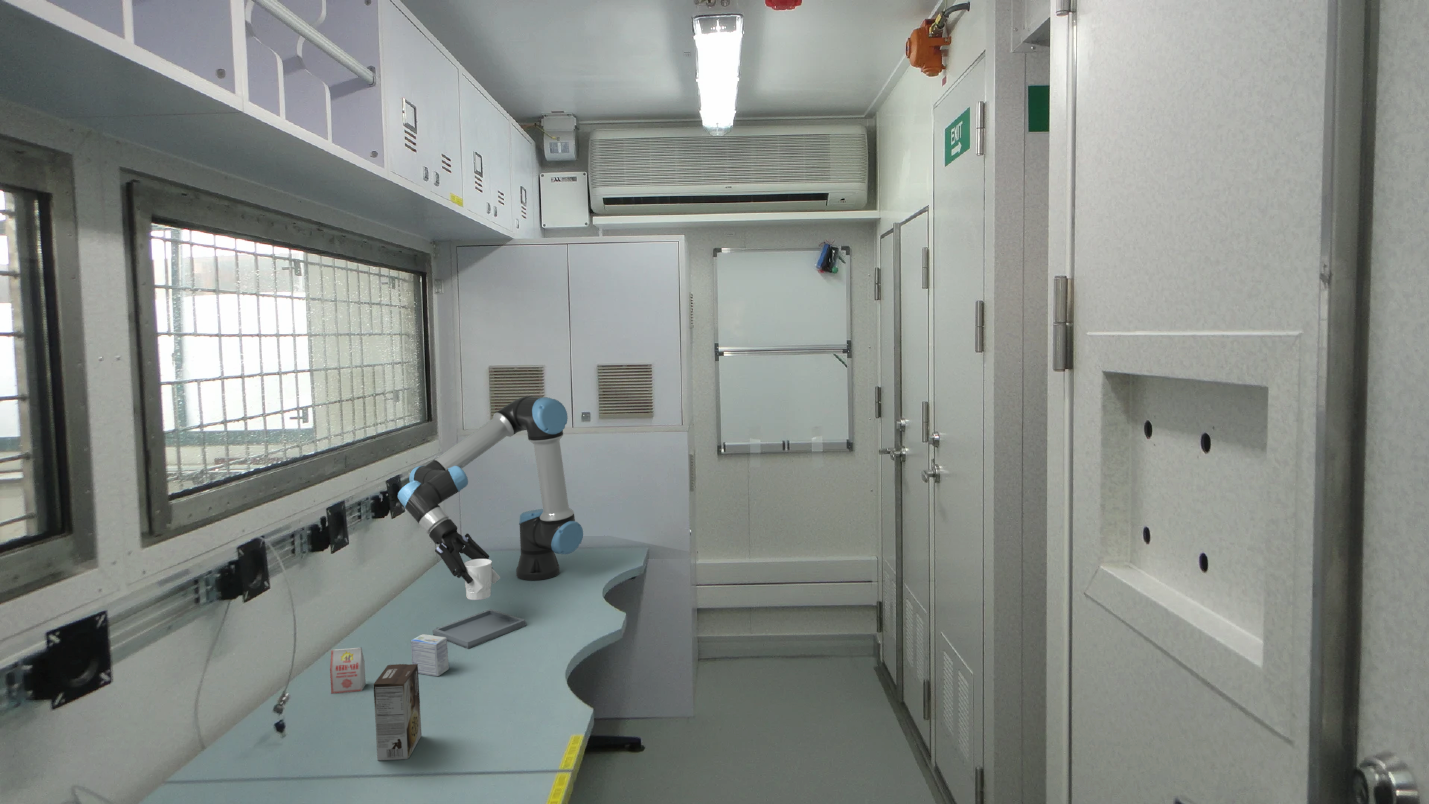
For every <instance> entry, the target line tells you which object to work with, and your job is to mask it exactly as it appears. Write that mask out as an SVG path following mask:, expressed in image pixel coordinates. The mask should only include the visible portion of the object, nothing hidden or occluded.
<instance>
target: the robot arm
mask: <svg viewBox="0 0 1429 804" xmlns="http://www.w3.org/2000/svg"><path fill="white" fill-rule="evenodd" d="M492 416H493V417H492V419H489V421H487V422H486V423H484V424H483V425H482V426H480V427H479V428H477V429H476V430H474V431H473V432H472V433H470V434H469V435H468V436H465V437H464V438H463V439H462V440H460V441H459V442H457V443H456V444H455V445H453V446H451V447H450V448H449V449H447V450H445V452H444V453H442V454H441V455H439V456H438V457H436V458H434V459H432V461H430V462H429V463H427V464H425V465H418V466H415V467H414V468H413V469H412V470H411V472H410V473H409V479H408V481H409V482H408V483H406V484H405V485H404V486H402V487H401V488H400V490H399V491H398V492H397V499H398V500H399V502H400V504H401V505H402V506H403V508H404V510H406V511H407V512H408V513H409V514H410V515H411V516H412V517H413V519H414V520H415V521H416V522H417V523H418V525H419V526H420V527H421V529H423V531H424V532H425V533H426V534H427V535H429V539H431V541H433V543H434V544H435V545H437V547H436V548H435V549H434V552H435V553H436V554H437V555H439V556H440V558H441V559H442V561H443V562H444V564H445V566H446V567H447V569H448V570H449V571H450V573H451V574H452V576H453V577H457V578H458V579H460V578H462V579H463V580H464V582H465V581H466V582H467V583H468V584H469V585H470V586H471V587H472V588H473V589H474V591H475V592H476V593H478V592H479V591H480V590H481V589H482V588H483V587H484V586H483V585H482V584H481V582H480V581H479V580H478V579H477V578H476V577H475V575H474V574H473V573H472V572H471V571H470V570H467V569H466V567H465V565H464V563H465V561H464V560H463V558H462V556H461V554H464V555H465V556H467V557H468V558H469V559H470V560H474V559H489V558H490V554H489V553H487V552H486V551H485V550H484V549H483V548H482V547H481V546H480V545H479V544H478V543H477V542H476V541H475V540H474V539H473V538H472V536H471V534H469V533H465V535H462V534H460V533H459V532H458V526H457V525H456V523H455V522H454V521H453V520H452V519H450V518H449V517H450V516H449V515H448V514H447V513H446V512H445V510H444V509H443V508H442V507H441V506H440V504H441V503H442V502H444V501H446V500H448V499H450V498H451V497H453V496H454V495H456V494H457V493H459V492H460V493H461V491H462V490H463V489H465V488H466V487H467V486H468V485H469V479H468V476H467V474H466V472H465V471H464V469H463V468H465V467H467V466H468V465H469V464H471V463H472V462H473V461H475V460H476V459H477V458H479V457H480V456H481V455H483V454H484V453H486V452H487V451H488V450H490V449H491V448H493V447H494V446H495V445H497V444H498V443H499V442H502V440H503V439H505V438H507V437H510V438H511V437H513V436H514V435H515V434H516V435H517V433H519V432H522V431H526V432H527V433H526V434H527V441H529V442H530V443H532V444H533V448H534V456H535V462H536V469H537V475H538V476H537V478H538V483H539V488H540V489H539V491H540V495H541V496H540V498H541V503H542V504H541V506H542V508H541V509H533V510H528V511H524V512H522V513H521V514H520V515H519V523H518V525H519V539H520V540H519V541H520V543H519V544H520V545H519V546H520V556H519V560H518V562H517V563H518V564H517V567H516V569H515V571H516V578H518V579H520V580H525V581H541V580H547V579H551V578H554V577H556V576H558V575H559V574H560V571H561V570H560V569H561V568H560V564H559V561H558V559H557V555H556V554H558V555H560V554H561V555H569V554H570V555H571V554H572V553H574V552H575V551H576V550H577V549H578V548H579V546H580V544H582V541H583V538H584V530H583V529H584V528H583V526H582V525H581V524H580V523H579V522H578V521H576V518H575V517H576V516H575V511H574V510H573V509H571V508H570V507H569V499H568V493H567V486H566V478H565V470H564V463H563V458H562V457H563V456H562V449H561V439H562V437H563V436H564V429H566V425H567V423H568V419H569V418H568V417H569V416H568V411H567V409H566V407H565V406H564V405H563V403H562V402H561V401H559V400H557V399H555V398H552V397H547V396H545V397H543V396H531V395H529V396H528V395H527V396H522V397H518V398H517V399H515V400H513V401H512V402H510V403H508V404H506V405H505V406H503V407H502V408H501V409H499V410H498V411H496V412H495V413H494V414H493V415H492ZM489 560H490V559H489ZM466 570H467V571H466ZM500 579H501V576H500V575H499V574H498V573H497V572H496V570H494V568H493V567H492V580H491V584H493V585H495V584H496V583H497V582H498V581H499V580H500Z"/></svg>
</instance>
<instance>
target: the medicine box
mask: <svg viewBox="0 0 1429 804" xmlns="http://www.w3.org/2000/svg"><path fill="white" fill-rule="evenodd" d="M410 647H411V648H410V649H411V664H418V674H421V675H426V676H427V675H428V676H434V677H439V676H441V675H443V674H445V673H446V672H447V671H448V670H449V669H450V667H449V651H448V650H449V649H448V641H447V638H446V637H440V636H433V634H425V633H423V634H420V635H417V637H415V638H412V639H411V640H410Z"/></svg>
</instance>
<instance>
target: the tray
mask: <svg viewBox="0 0 1429 804" xmlns="http://www.w3.org/2000/svg"><path fill="white" fill-rule="evenodd" d="M526 621H527V620H526V619H524V618H521V617H518V616H515V615H512V614H509V613H506V612H502V611H499V610H496V609H492V608H490V609H487V610H484V611H481V612H479V613H475V614H472V615H470V616H467V617H465V618H461V619H458V620H456V621H453V622H450V623H448V624H445V625H442V626H439V627H436V628H434V629H432V635H433V636H440V637H446V638H447V643H451V644H453V645H456V646H459V647H461V648H464V649H467V650H469V649H471V648H474V647H476V646H479V645H481V644H484V643H487V642H489V641H491V640H493V639H496V638H499V637H501V636H503V635H506V634H509V633H511V632H514V631H516V630H518V629H519V630H520V629H521V628H524V627H526V625H527V622H526Z"/></svg>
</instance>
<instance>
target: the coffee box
mask: <svg viewBox="0 0 1429 804" xmlns="http://www.w3.org/2000/svg"><path fill="white" fill-rule="evenodd" d="M372 686H373V701H374V702H373V703H374V718H375V736H376V737H375V738H376V739H375V740H376V755H377V757H376V758H377V761H393V760H397V761H398V760H408V759H410V757H411V756H412V753H413V751H414V749H415V748H416V747H417V744H418V743H419V741H420V739H421V737H422V722H421V721H422V719H421V701H420V700H421V699H420V697H421V696H420V681H419V673H418V664H412V663H411V664H407V663H402V664H401V663H399V664H397V663H396V664H388V665H387V666H386V667H385V668H384V669H383V671H382V672H381V673H380V675H379V676H378V678H377V679H376V680H375V682H374V683H373V685H372Z"/></svg>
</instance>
